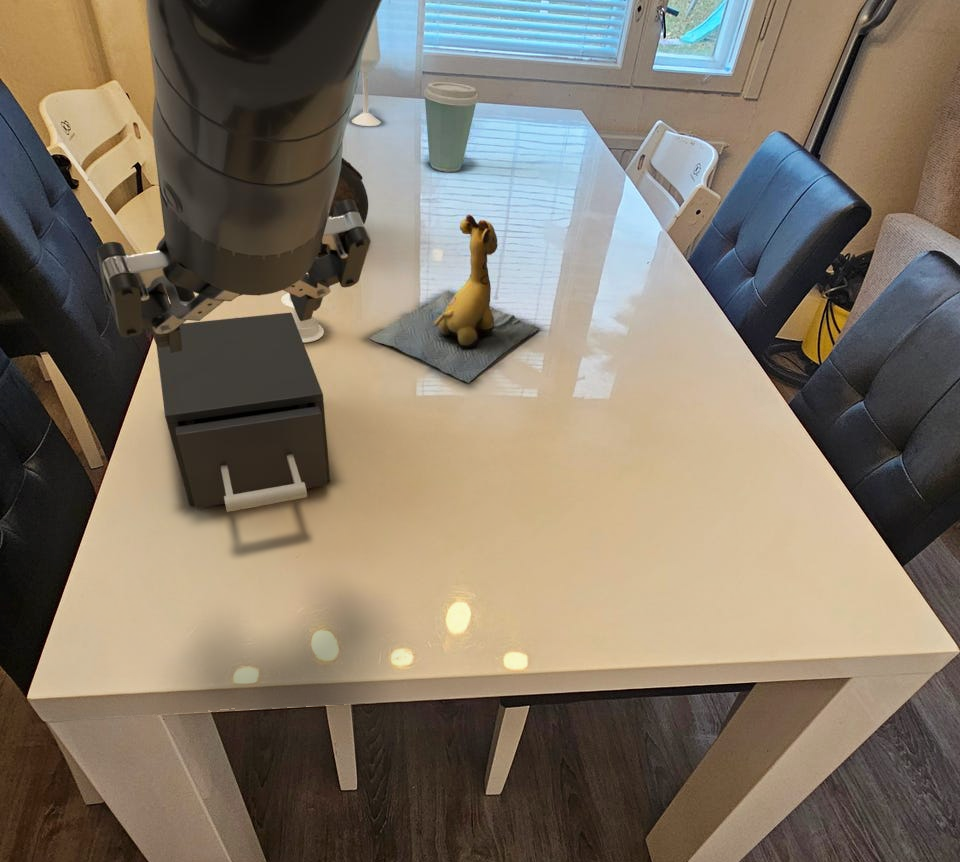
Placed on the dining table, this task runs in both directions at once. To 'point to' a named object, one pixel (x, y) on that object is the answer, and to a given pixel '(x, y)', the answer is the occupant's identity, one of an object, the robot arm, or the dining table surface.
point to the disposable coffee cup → (448, 123)
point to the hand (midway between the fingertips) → (237, 322)
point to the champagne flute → (367, 65)
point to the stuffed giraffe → (460, 319)
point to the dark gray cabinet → (236, 373)
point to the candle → (304, 323)
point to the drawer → (253, 456)
